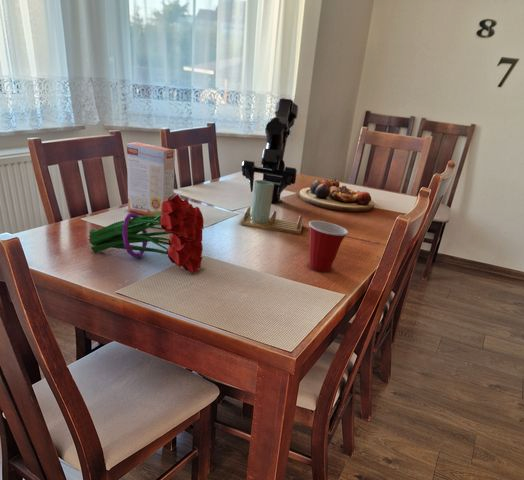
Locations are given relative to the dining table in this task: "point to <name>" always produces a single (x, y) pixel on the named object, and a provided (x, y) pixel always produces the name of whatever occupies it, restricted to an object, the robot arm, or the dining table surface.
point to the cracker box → (149, 177)
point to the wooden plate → (336, 196)
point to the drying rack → (274, 223)
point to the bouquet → (172, 222)
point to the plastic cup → (324, 244)
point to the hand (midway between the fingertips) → (264, 193)
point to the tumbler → (262, 201)
